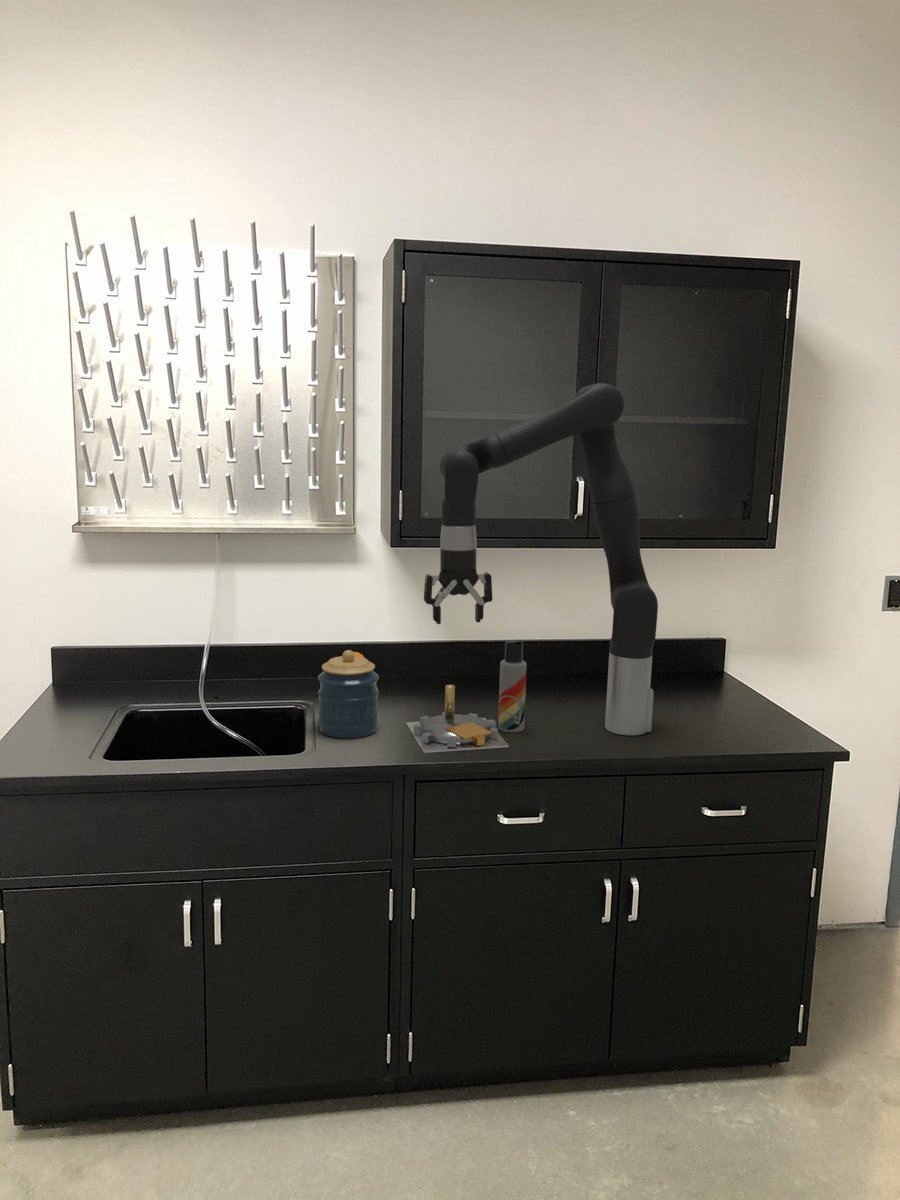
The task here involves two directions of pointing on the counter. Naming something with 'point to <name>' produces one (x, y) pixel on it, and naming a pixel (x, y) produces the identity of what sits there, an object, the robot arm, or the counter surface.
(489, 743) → the base plate
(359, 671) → the canister
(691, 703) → the counter surface
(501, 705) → the lotion bottle
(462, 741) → the sprocket
